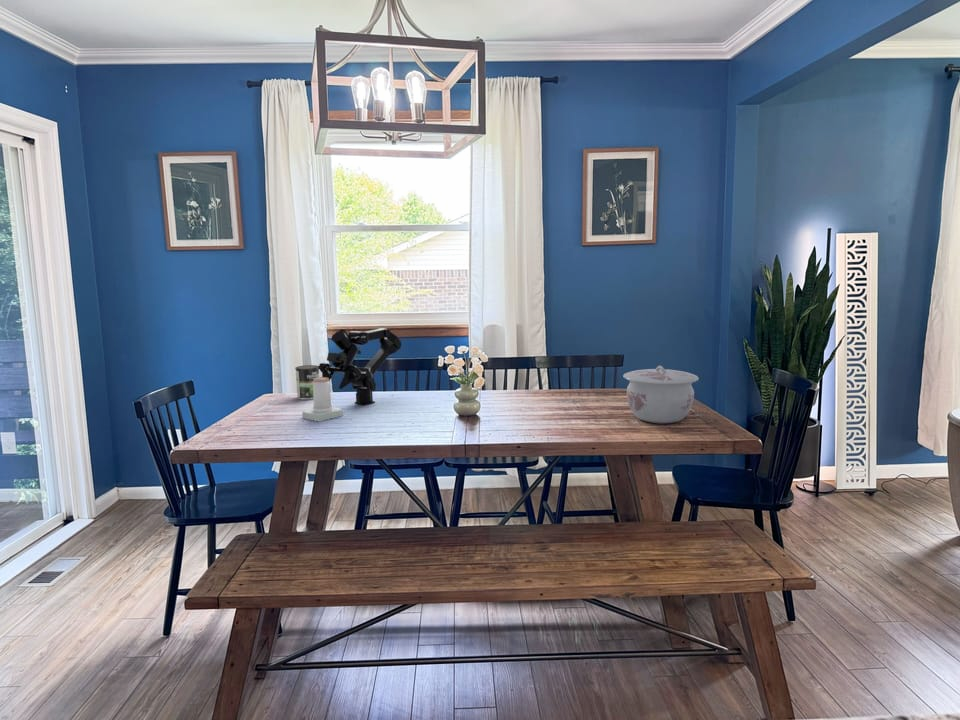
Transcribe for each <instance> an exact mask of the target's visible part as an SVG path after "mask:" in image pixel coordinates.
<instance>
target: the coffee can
mask: <svg viewBox="0 0 960 720" xmlns="http://www.w3.org/2000/svg"><path fill="white" fill-rule="evenodd" d="M318 367H319V365H315V364H312V365H311V364H309V365H299V366H295V367H294V368H295V377H296V378H295V379H296V381H295V382H296V392H297V393H296V395H297V397H296V398H297V400H303V401H305V400H308V401H310V400H314V398H313V379H314V378H317V377H320V369H319V368H318Z"/></svg>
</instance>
